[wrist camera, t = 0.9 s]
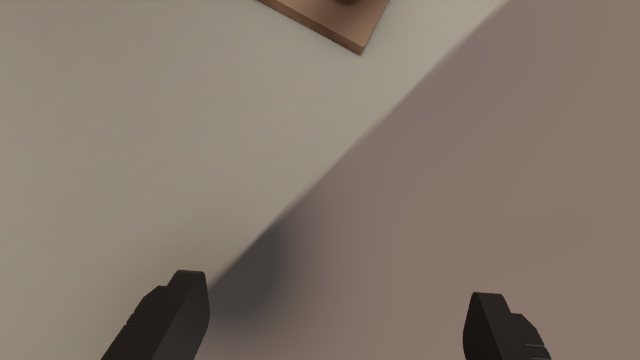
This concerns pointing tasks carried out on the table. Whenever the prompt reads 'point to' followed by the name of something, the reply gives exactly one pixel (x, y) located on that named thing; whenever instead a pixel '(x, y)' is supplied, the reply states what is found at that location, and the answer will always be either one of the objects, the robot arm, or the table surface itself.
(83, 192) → the table surface
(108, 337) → the table surface
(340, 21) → the walnut stand base
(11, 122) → the table surface
